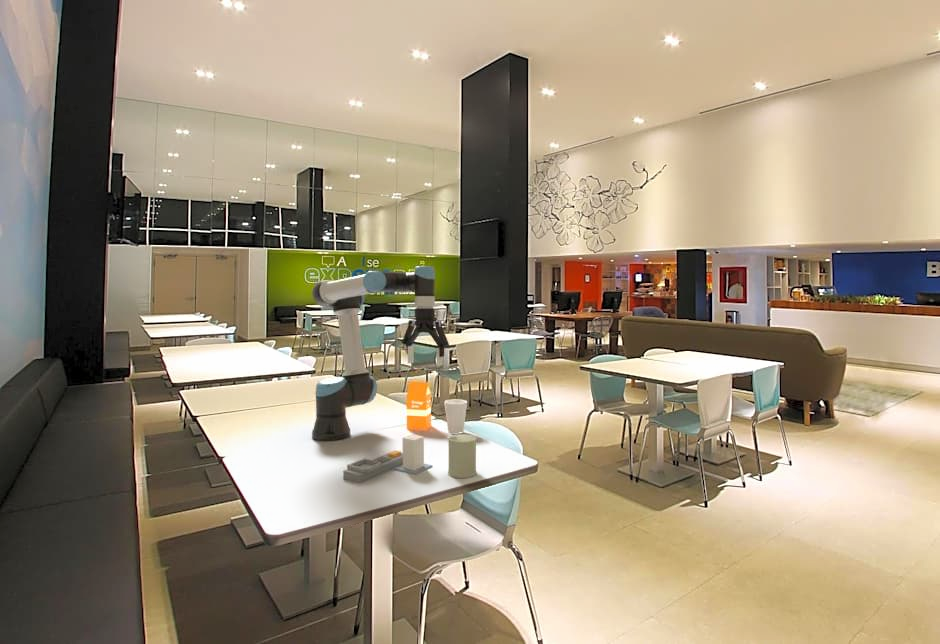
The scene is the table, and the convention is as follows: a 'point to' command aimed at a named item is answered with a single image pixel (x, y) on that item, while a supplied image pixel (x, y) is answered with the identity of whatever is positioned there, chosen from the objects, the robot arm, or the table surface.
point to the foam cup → (455, 415)
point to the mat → (413, 470)
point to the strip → (372, 466)
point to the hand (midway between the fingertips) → (424, 364)
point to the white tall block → (413, 452)
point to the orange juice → (418, 406)
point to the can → (462, 456)
